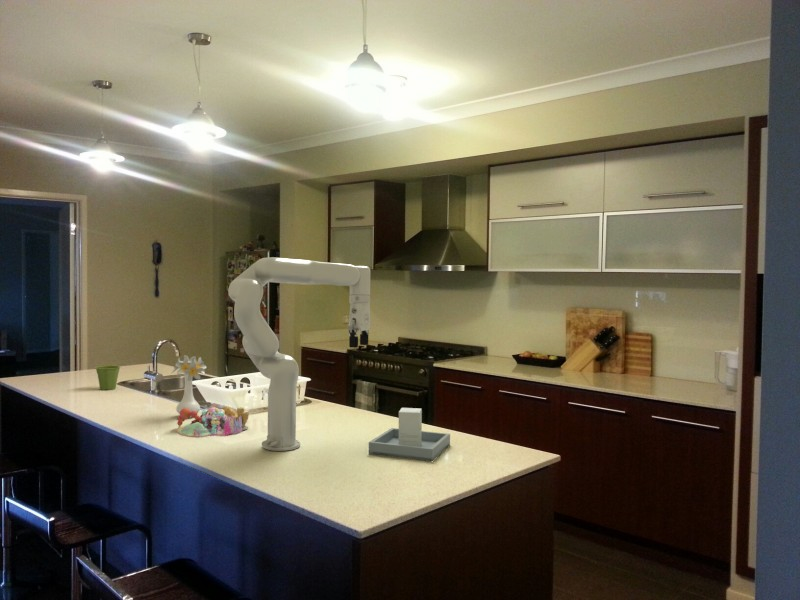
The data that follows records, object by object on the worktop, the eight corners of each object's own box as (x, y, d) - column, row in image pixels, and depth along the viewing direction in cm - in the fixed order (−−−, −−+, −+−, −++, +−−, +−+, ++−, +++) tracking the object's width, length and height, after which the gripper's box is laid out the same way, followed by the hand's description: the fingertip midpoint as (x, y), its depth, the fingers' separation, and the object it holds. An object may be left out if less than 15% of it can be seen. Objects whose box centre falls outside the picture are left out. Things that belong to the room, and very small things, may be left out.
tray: (432, 461, 200) (432, 449, 200) (368, 454, 208) (368, 442, 208) (449, 445, 221) (450, 433, 221) (391, 438, 228) (391, 427, 228)
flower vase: (183, 422, 248) (184, 359, 247) (165, 414, 261) (165, 355, 261) (214, 418, 256) (215, 357, 255) (195, 410, 270) (196, 353, 269)
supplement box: (421, 444, 218) (422, 408, 217) (419, 449, 210) (420, 412, 210) (400, 443, 219) (401, 407, 218) (397, 448, 211) (398, 411, 211)
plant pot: (125, 387, 324) (125, 365, 323) (111, 391, 312) (111, 369, 311) (104, 386, 325) (104, 365, 325) (89, 390, 313) (89, 368, 313)
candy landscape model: (222, 420, 254) (222, 397, 254) (259, 430, 240) (260, 406, 239) (166, 431, 235) (166, 406, 235) (202, 442, 220) (203, 416, 220)
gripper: (359, 300, 221) (359, 348, 221) (377, 299, 237) (377, 344, 238) (340, 299, 223) (339, 347, 224) (359, 298, 240) (358, 343, 240)
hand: (358, 346), depth 231 cm, fingers open, 9 cm apart
